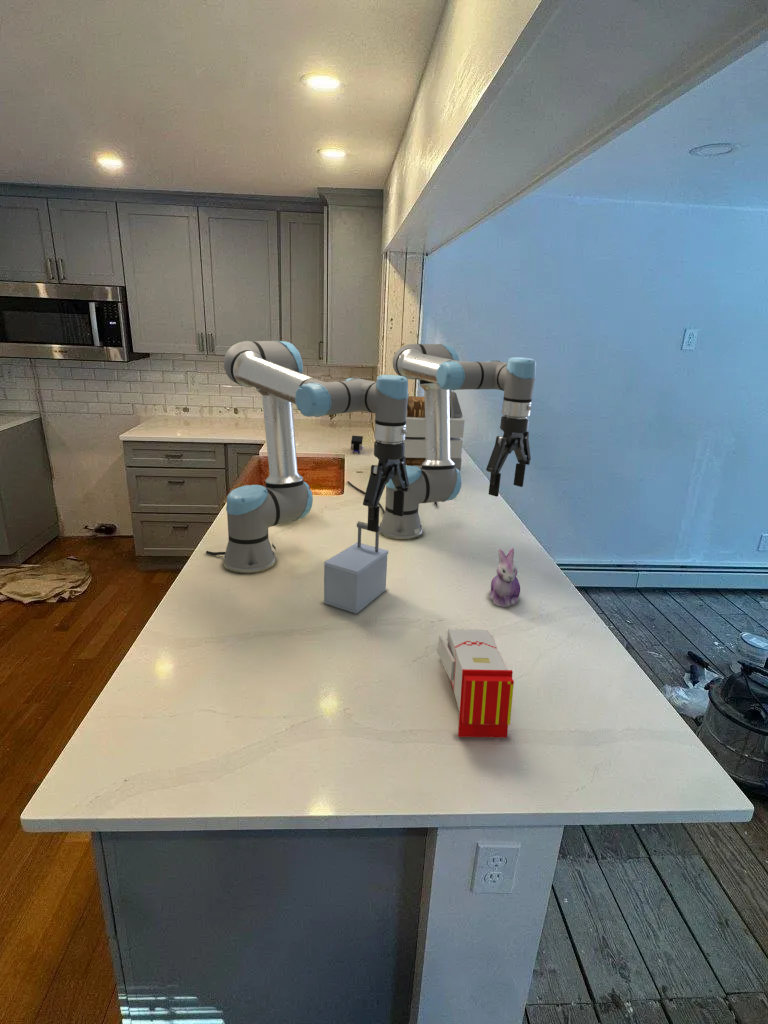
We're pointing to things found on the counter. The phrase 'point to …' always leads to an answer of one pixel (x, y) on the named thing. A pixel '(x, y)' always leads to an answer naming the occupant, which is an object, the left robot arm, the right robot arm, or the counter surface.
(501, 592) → the figurine
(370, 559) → the lid
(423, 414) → the white slatted crate
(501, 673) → the toy
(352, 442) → the figurine character
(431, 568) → the counter surface
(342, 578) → the chest
